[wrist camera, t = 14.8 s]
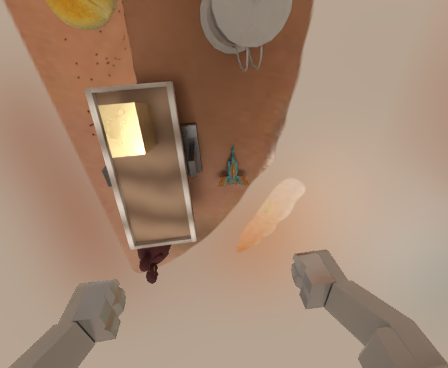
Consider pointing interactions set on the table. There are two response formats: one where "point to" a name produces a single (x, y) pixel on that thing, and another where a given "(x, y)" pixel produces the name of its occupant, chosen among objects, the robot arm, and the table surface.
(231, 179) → the dragon figurine
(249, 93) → the table surface
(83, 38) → the table surface
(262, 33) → the french press
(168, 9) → the table surface
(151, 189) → the balance beam
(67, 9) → the bread roll
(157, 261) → the icecream
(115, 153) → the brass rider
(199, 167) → the pivot stand
